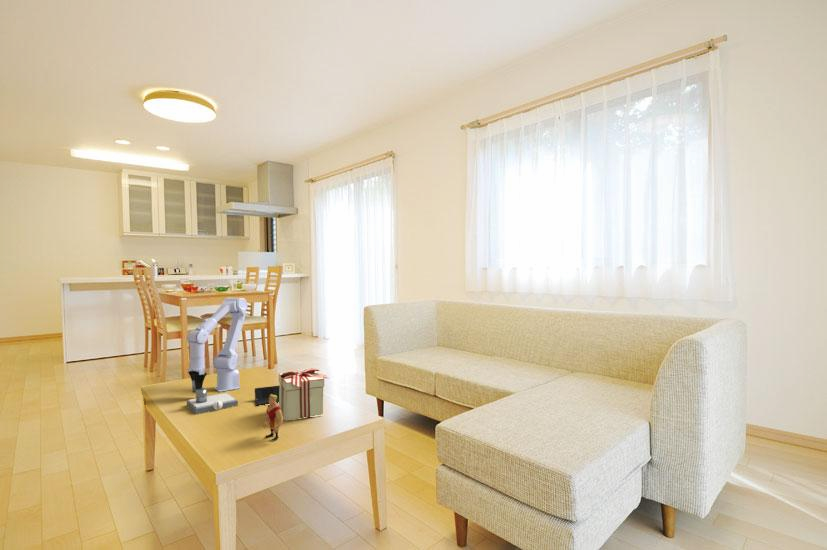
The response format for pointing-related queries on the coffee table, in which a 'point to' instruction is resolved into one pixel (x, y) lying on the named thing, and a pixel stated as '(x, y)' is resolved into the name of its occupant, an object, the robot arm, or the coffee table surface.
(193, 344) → the robot arm
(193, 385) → the cylinder
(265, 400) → the handheld gaming console
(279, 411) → the action figure
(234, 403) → the white grey-edged panel
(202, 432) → the coffee table surface
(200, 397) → the cylinder
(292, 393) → the gift box
